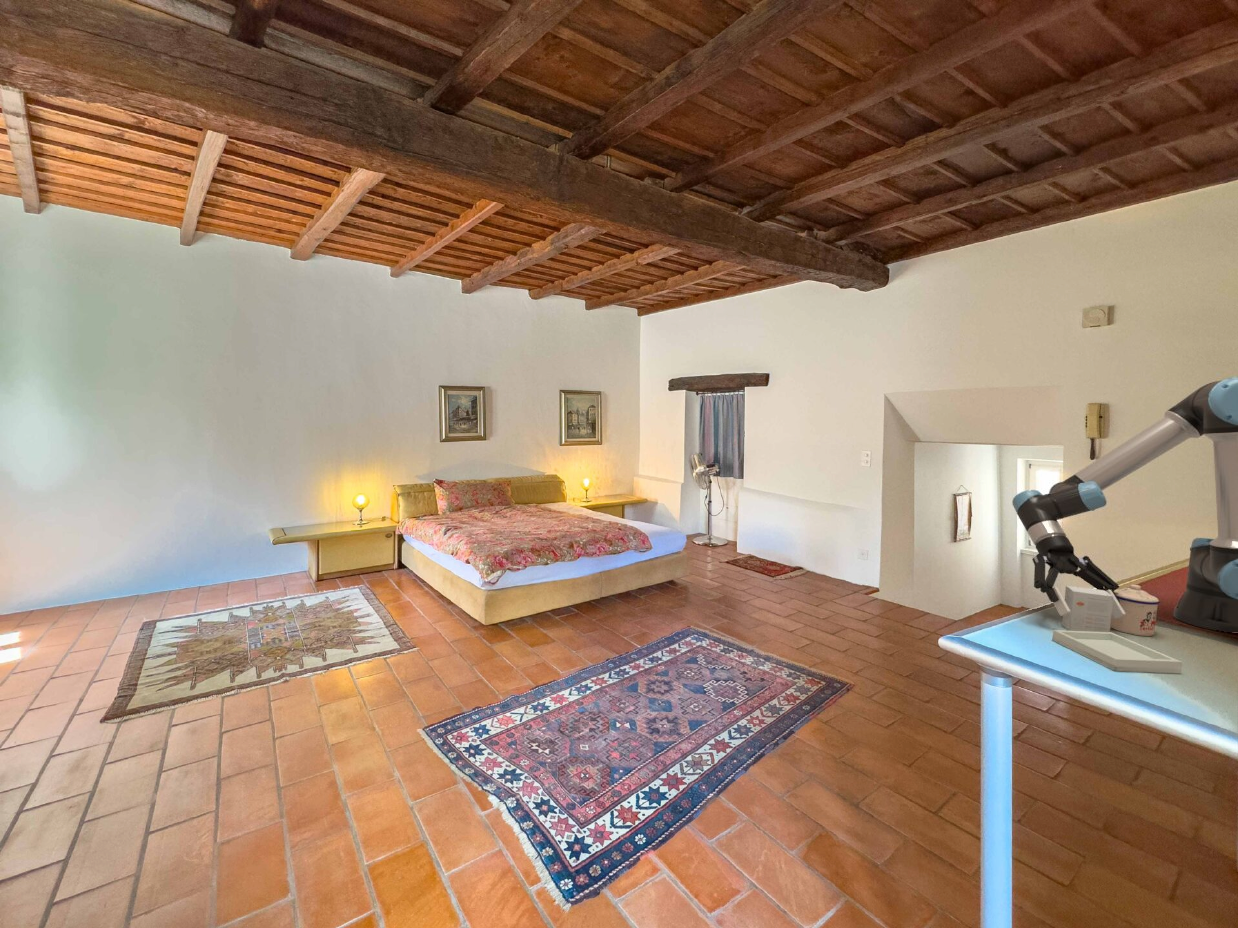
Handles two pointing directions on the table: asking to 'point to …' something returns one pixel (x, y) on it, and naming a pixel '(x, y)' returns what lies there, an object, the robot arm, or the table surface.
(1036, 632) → the table surface
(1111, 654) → the sage tray
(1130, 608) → the teacup with lid
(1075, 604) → the small box
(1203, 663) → the table surface
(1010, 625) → the table surface
